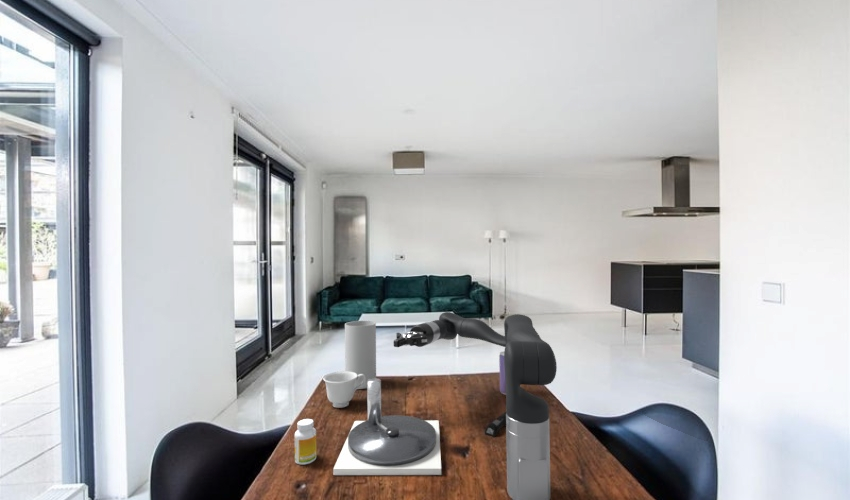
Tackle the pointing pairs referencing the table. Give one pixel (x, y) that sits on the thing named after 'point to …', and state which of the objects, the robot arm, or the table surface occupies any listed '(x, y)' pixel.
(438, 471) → the dial base plate
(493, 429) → the electric trimmer
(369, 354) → the cylinder vase
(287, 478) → the table surface
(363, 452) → the dial
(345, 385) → the teacup
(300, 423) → the supplement bottle
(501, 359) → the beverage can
